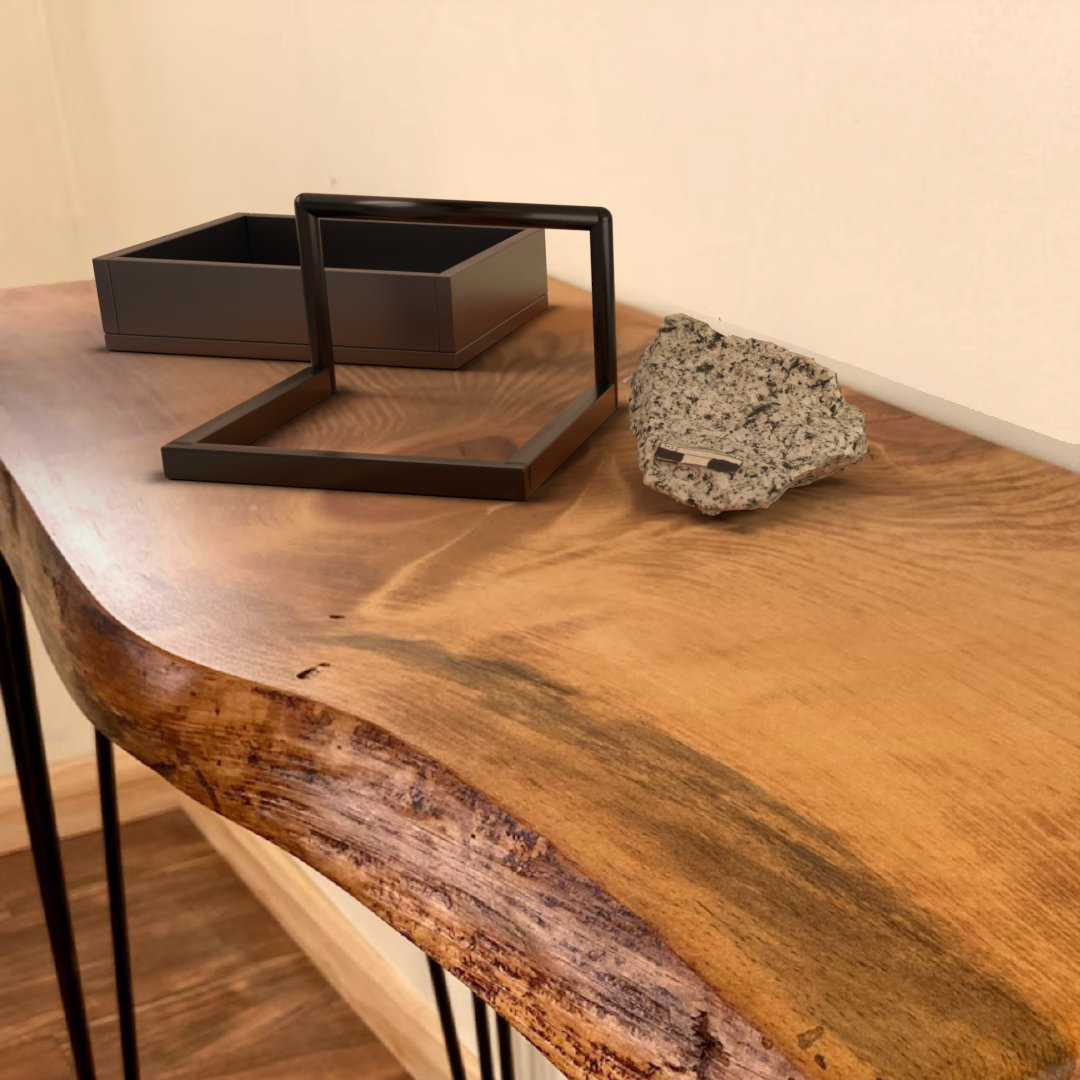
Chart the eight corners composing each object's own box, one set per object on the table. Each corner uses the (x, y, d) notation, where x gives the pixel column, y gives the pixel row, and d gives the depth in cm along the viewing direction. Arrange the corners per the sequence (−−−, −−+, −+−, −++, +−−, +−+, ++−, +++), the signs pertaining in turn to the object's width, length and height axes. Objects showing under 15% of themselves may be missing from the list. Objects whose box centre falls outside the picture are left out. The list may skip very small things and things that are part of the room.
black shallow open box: (105, 350, 87) (91, 258, 85) (246, 291, 101) (237, 212, 99) (457, 370, 85) (450, 276, 83) (548, 307, 100) (545, 227, 98)
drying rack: (163, 478, 67) (128, 243, 63) (319, 388, 81) (298, 190, 77) (525, 501, 66) (512, 263, 62) (620, 405, 80) (614, 205, 76)
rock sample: (567, 416, 61) (678, 224, 64) (552, 505, 69) (653, 330, 71) (832, 558, 63) (931, 363, 65) (790, 631, 70) (881, 454, 72)
